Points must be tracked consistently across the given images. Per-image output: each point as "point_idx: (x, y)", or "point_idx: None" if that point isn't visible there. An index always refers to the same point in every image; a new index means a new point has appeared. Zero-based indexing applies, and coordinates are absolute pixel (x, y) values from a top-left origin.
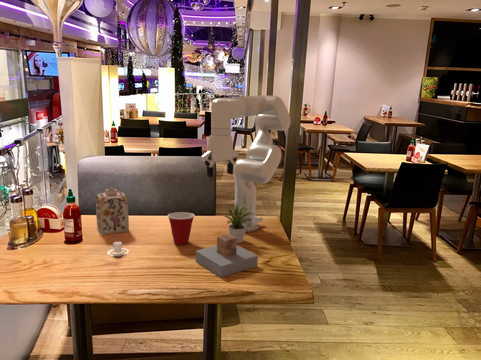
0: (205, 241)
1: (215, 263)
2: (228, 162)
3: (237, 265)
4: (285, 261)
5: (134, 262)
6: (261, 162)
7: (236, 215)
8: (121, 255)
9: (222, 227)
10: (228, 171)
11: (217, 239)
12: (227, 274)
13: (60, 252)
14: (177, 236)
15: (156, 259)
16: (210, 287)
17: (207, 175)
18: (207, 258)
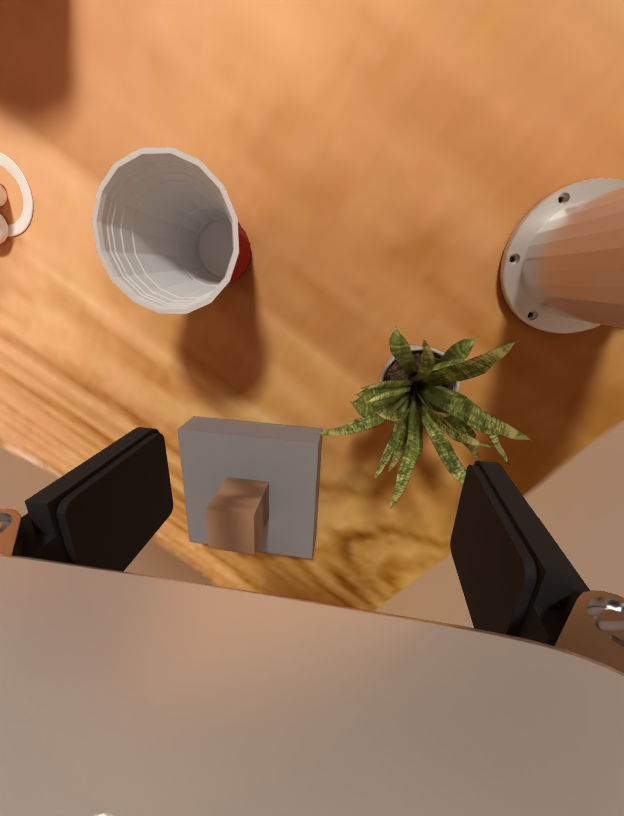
0: (309, 299)
1: (188, 520)
2: (567, 621)
3: None
4: (398, 563)
5: (37, 313)
6: None
7: (423, 402)
8: (2, 241)
9: (494, 185)
10: (470, 508)
11: (209, 504)
12: None
13: None
14: (181, 271)
15: (99, 334)
16: (161, 536)
17: (139, 431)
18: (184, 487)
